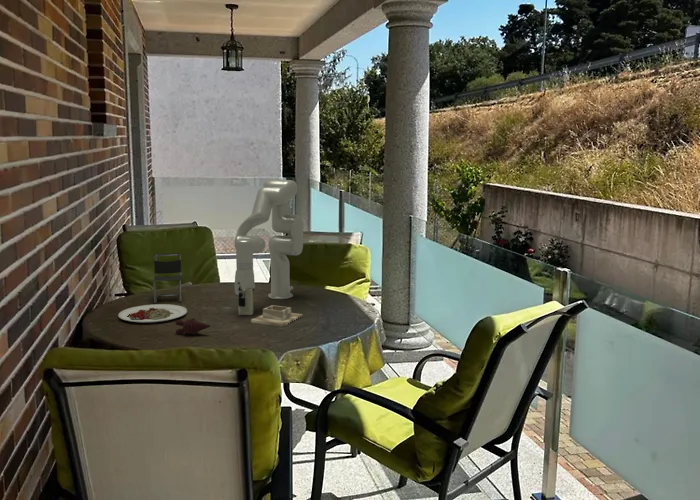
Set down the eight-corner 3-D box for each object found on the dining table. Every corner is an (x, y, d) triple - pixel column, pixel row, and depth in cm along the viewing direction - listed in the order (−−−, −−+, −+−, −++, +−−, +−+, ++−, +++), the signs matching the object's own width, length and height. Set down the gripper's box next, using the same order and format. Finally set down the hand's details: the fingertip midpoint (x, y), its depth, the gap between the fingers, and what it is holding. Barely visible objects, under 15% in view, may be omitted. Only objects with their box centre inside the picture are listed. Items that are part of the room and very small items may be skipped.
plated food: (200, 312, 306) (200, 305, 305) (156, 328, 279) (156, 321, 278) (150, 305, 318) (150, 298, 318) (103, 320, 291) (103, 313, 291)
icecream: (213, 317, 273) (179, 318, 275) (206, 317, 265) (171, 318, 268) (213, 334, 272) (179, 335, 274) (207, 334, 264) (171, 336, 267)
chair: (182, 295, 338) (180, 253, 335) (181, 303, 322) (179, 259, 318) (156, 296, 336) (154, 253, 332) (153, 304, 319) (151, 259, 315)
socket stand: (272, 312, 304) (272, 301, 304) (302, 316, 298) (302, 305, 297) (250, 322, 288) (250, 310, 287) (282, 326, 282) (282, 315, 281)
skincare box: (253, 312, 304) (253, 287, 302) (251, 315, 300) (250, 289, 298) (240, 312, 305) (239, 286, 303) (237, 314, 300) (237, 289, 298)
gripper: (248, 262, 308) (249, 299, 311) (226, 268, 293) (227, 308, 295) (262, 263, 305) (262, 301, 308) (241, 270, 289) (241, 309, 292)
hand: (245, 304), depth 302 cm, fingers closed on skincare box, 5 cm apart
